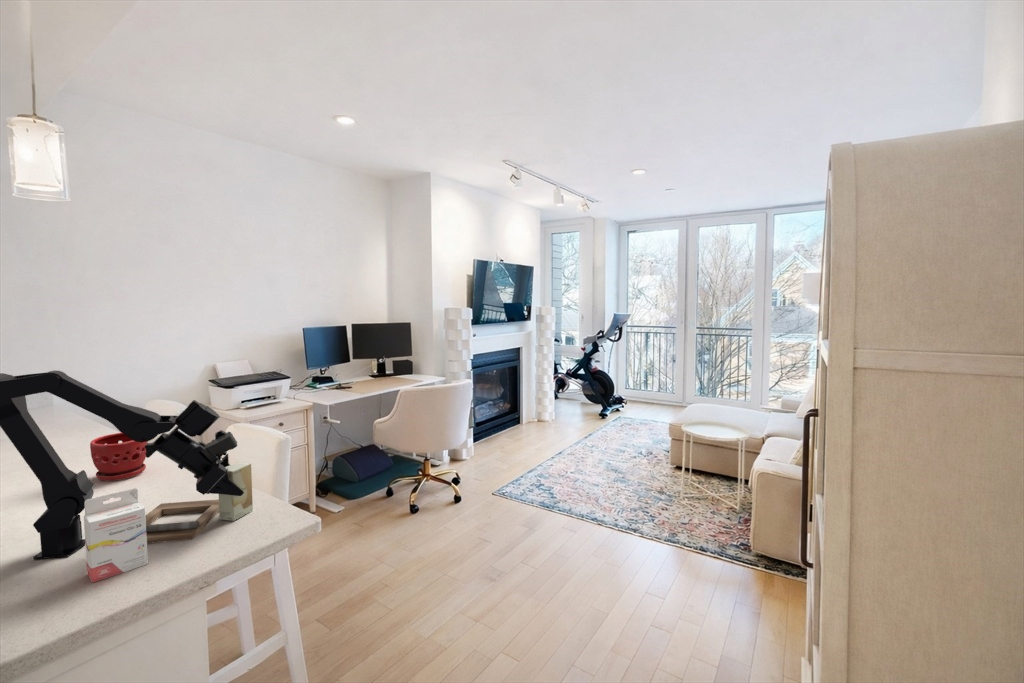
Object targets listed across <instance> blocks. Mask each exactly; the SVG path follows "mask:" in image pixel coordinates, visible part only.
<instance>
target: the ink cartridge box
mask: <svg viewBox="0 0 1024 683" xmlns="http://www.w3.org/2000/svg"><path fill="white" fill-rule="evenodd" d="M138 492H139V491H138V488H131V489H130V488H129V489H127V490H122V491H117V492H114V493H113V492H112V493H108V494H105V495H100V496H95V497H92V498H91V499H87V500H85V502H84V506H85V508H84V516H83V525H84V539H85V545H84V546H85V558H86V559H85V560H86V562H85V563H86V574H87V575H88V578H89V579H90V581H91V583H96V582H98V581H99V582H100V581H103V580H105V579H108V578H111V577H114V576H116V575H119V574H120V575H121V574H122V573H126V572H128V571H129V572H130V571H131V570H134V569H138V568H140V567H143V566H146V565H148V564H149V561H148V560H149V559H148V556H149V555H148V543H147V536H146V518H145V515H146V508H145V506H144V505H143V504H142V503H141V502H139V497H138V496H139V494H138ZM112 498H113V499H119V498H121V499H120V500H115V501H112V502H111V501H110V502H108V503H104V502H106V501H109V500H111V499H112Z"/></svg>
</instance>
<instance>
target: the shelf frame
mask: <svg viewBox="0 0 1024 683" xmlns="http://www.w3.org/2000/svg"><path fill="white" fill-rule="evenodd" d="M175 513H180V514H189V513H190V514H191V513H202V514H201V515H199V517H198V518H196V520H193V521H180V522H168V523H157V524H156V523H155V524H153V523H154V522H156V521H157V520H158V519H160V518H161V517H162V516H163V515H162V514H167V515H176V514H175ZM217 513H218V514H219V498H218V499H207V500H192V501H179V502H178V501H177V502H164V503H163V502H162V503H160V504H158V505H157V506H156V507H155V508H153V509H152V510H151V511H149V512H148V513H146V514H145V518H146V536H147V544H152V542H154V543H165V542H164V541H166V542H175V541H176V542H177V541H187V540H193V539H194V538H195V537H196V536H197V535H198V534H199V533H200V532H201V531H202V530H203V529H204V528H206V526H207V525H208V524H209V523H210V522H211V521H212V520H213V519H214V518H215V517H216V516H217V515H218V514H217ZM216 514H217V515H216ZM161 515H162V516H161ZM215 515H216V516H215ZM160 516H161V517H160ZM157 518H158V519H157ZM156 519H157V520H156ZM155 520H156V521H155ZM152 522H153V523H152ZM151 523H152V524H151ZM150 524H151V525H150Z"/></svg>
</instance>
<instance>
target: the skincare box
mask: <svg viewBox="0 0 1024 683" xmlns="http://www.w3.org/2000/svg"><path fill="white" fill-rule="evenodd" d="M225 468H226V469H228V477H229V478H230V479H231V480H232V481H233V482H234V483H235V484H236V485H237V486H238V487H240V488H241V489H242V490H243V491H244V493H243V495H242V496H234V495H225V494H218V499H219V513H218V516H219V520H223V521H234V522H235V521H236V519H237V520H238V519H240V518H242V517H243V516H246V515H247V514H250V513H251V512H253V511H252V510H254V508H253V507H254V506H253V482H252V480H253V479H252V478H253V476H252V463H249V462H248V463H247V462H244V463H243V462H235V463H232V464H230V466H227V467H225ZM250 511H251V512H250ZM245 514H246V515H245Z"/></svg>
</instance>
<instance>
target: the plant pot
mask: <svg viewBox="0 0 1024 683" xmlns="http://www.w3.org/2000/svg"><path fill="white" fill-rule="evenodd" d="M147 443H149V441H147V442H136V441H133V440H132V439H130V438H129V437H127V436H126V435H124V434H123V433H122V432H116V433H111V434H107V435H102V436H99V437H97V438H94V439H92V440H91V441H90V443H89V448H90V456H91V460H92V462H93V465H94V467H95V468H96V469H97V472H96V473H95V477H96V478H97V479H99V480H100V481H105V482H106V481H108V482H110V481H113V482H115V481H121V480H126V479H129V478H133V477H135V476H138V475H140V474H142V473H143V472H144V471H145V469H146V467H147V465H146V464H145V463H144V462H145V460H146V458H147V457H146V449H145V445H146V444H147Z"/></svg>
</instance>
